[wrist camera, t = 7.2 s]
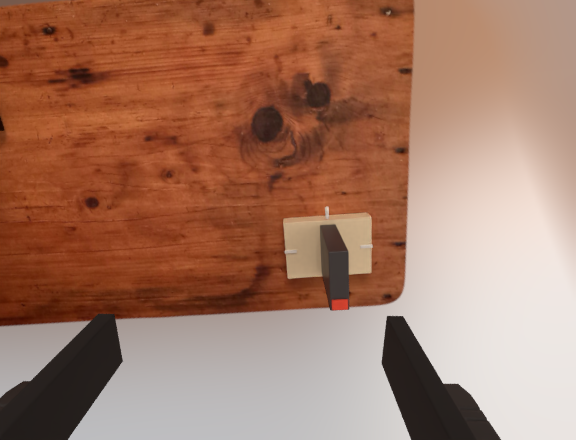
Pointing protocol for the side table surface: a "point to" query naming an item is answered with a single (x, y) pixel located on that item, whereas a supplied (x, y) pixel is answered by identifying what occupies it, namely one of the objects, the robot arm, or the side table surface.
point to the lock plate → (307, 245)
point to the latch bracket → (1, 126)
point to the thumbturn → (335, 267)
